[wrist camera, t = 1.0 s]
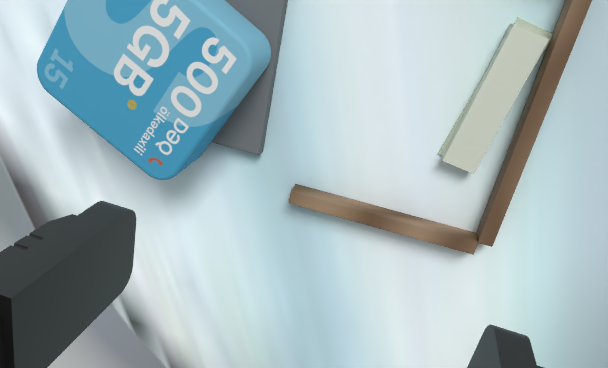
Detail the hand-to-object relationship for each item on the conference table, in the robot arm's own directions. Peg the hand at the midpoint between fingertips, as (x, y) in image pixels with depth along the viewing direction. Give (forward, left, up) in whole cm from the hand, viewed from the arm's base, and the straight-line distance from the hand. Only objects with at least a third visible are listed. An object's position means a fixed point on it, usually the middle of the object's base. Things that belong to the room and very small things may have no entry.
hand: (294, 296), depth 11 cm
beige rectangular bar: (-7, -1, -27) cm, 28 cm away
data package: (+21, -1, -23) cm, 31 cm away
